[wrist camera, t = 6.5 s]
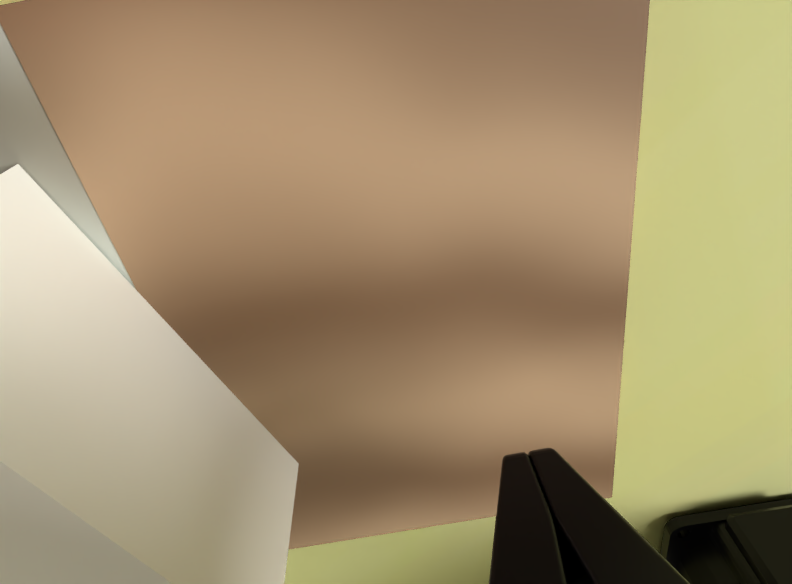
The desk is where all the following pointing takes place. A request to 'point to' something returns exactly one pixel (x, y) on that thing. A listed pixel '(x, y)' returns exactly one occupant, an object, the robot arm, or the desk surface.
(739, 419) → the desk surface
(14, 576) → the carton
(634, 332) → the desk surface
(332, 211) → the display board
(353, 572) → the desk surface
